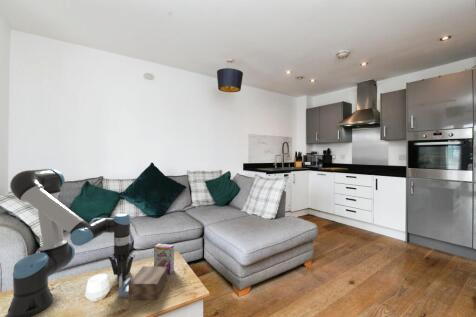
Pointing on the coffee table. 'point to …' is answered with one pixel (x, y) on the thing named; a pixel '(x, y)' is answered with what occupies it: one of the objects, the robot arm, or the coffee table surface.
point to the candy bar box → (164, 256)
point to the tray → (124, 288)
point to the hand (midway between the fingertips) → (121, 286)
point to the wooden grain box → (148, 283)
